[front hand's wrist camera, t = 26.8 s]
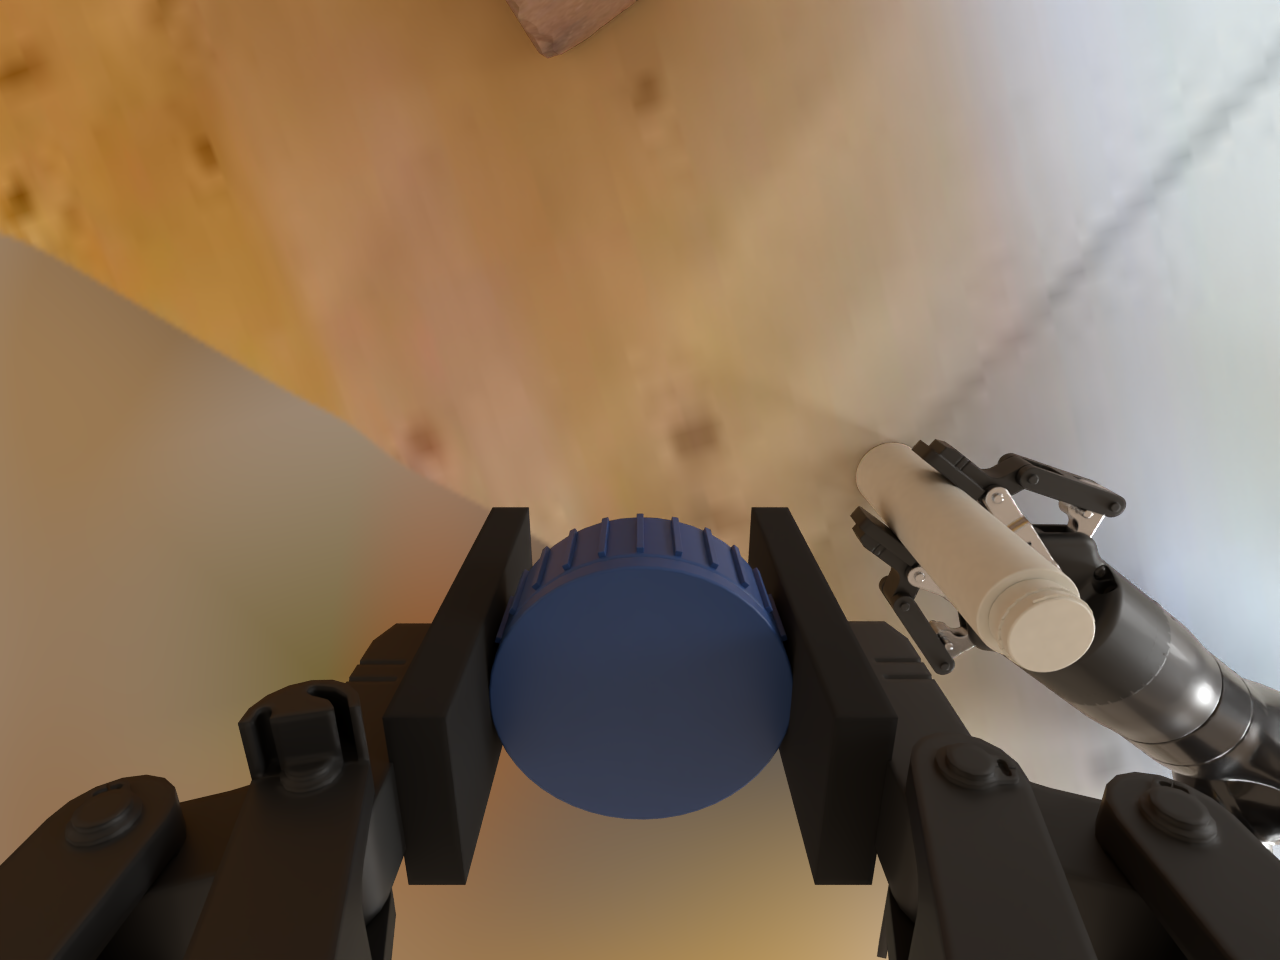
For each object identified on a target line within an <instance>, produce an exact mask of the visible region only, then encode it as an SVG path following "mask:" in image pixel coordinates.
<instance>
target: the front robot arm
mask: <svg viewBox="0 0 1280 960" xmlns="http://www.w3.org/2000/svg"><path fill="white" fill-rule="evenodd" d="M748 564H749V566H750V567H751V568H752V570H753V569H754V568H757V569H758V570H759V572H760V574H761V577H762V580H763V583H764V586H765V589H766V592H767V595H769V594H772V597H773V599H774V602H775V605H776V608H777V611H778V613H779V616H780V619H781V622H782V625H783V627H784V630H785V633H786V636H787V638H788V640H786V641H783V644H784V647H785V650H786V653H787V655H788V658H789V661H790V664H791V669H792V675H793V686H792V698H791V709H790V719H789V725H788V729H787V732H786V734H785V736H784V738H783V740H782V742H781V744H780V747H779V751H780V755H781V758H782V762H783V766H784V770H785V774H786V777H787V781H788V785H789V789H790V792H791V796H792V800H793V804H794V808H795V811H796V815H797V819H798V823H799V826H800V830H801V834H802V838H803V841H804V845H805V849H806V853H807V857H808V860H809V864H810V868H811V872H812V875H813V879H814V883H815V885H872V880H873V874H874V867H875V861H876V855H877V854H878V857H879V860H880V862H881V865H882V868H883V870H884V873H885V876H886V878H887V881H888V884H889V886H888V892H887V898H886V904H885V910H884V916H883V921H882V927H881V933H880V939H879V946H878V953H877V956H878V957H882V958H886V956H887V951H888V957H889V960H1280V860H1279V859H1278V858H1277V857H1276V856H1275V855H1274V854H1273V853H1272V852H1271V851H1270V850H1269V849H1268V848H1266V847H1265V846H1264V845H1263V844H1262V843H1261V842H1260V841H1259V840H1258V839H1257V838H1256V837H1255V836H1254V835H1253V834H1252V833H1251V832H1250V831H1249V830H1248V829H1247V828H1246V827H1245V826H1244V825H1243V824H1242V823H1241V822H1240V821H1239V820H1238V819H1237V818H1236V817H1235V816H1234V815H1233V814H1231V813H1230V812H1229V811H1228V810H1226V809H1225V808H1224V807H1223V806H1221V805H1220V804H1219V803H1218V802H1216V801H1215V800H1214V799H1212V798H1211V797H1209V796H1207V795H1205V794H1203V793H1201V792H1200V791H1198V790H1196V789H1194V788H1192V787H1190V786H1188V785H1186V784H1184V783H1181V782H1178V781H1175V780H1172V779H1169V778H1166V777H1163V776H1160V775H1155V774H1147V773H1139V772H1132V773H1126V774H1120V775H1116V776H1115V777H1114V778H1113V779H1112V780H1111V781H1110V782H1109V783H1107V784H1106V788H1105V791H1104V794H1103V798H1102V800H1100V799H1095V798H1091V797H1087V796H1082V795H1078V794H1074V793H1070V792H1065V791H1061V790H1057V789H1052V788H1049V787H1045V786H1042V785H1039V784H1035V783H1032V782H1030V781H1029V780H1028V778H1027V776H1026V775H1025V773H1024V772H1023V770H1022V769H1021V767H1020V766H1019V764H1018V763H1017V762H1016V761H1015V760H1013V759H1012V758H1011V757H1010V756H1009V755H1007V754H1006V753H1005V752H1004V751H1003V750H1001V749H1000V748H998V747H996V746H994V745H992V744H990V743H988V742H986V741H984V740H982V739H980V738H976V737H972V736H971V735H970V734H969V732H968V730H967V729H966V727H965V726H964V724H963V723H962V721H961V720H960V718H959V717H958V715H957V714H956V712H955V710H954V709H953V707H952V706H951V704H950V703H949V701H948V700H947V698H946V697H945V695H944V694H943V692H942V690H941V689H940V687H939V686H938V684H937V683H936V681H935V680H934V679H932V677H931V674H930V672H929V670H928V669H927V667H926V666H925V664H924V663H923V662H921V658H920V657H919V655H918V654H917V652H916V650H915V649H914V647H913V646H912V644H911V643H910V641H909V640H908V638H906V637H905V636H904V635H902V634H901V633H900V632H898V631H897V630H895V629H894V628H893V627H891V626H890V625H889V624H887V623H886V622H885V621H847V619H846V617H845V615H844V613H843V611H842V610H841V608H840V606H839V604H838V602H837V600H836V598H835V596H834V594H833V592H832V591H831V589H830V587H829V585H828V583H827V581H826V579H825V577H824V575H823V573H822V572H821V570H820V568H819V566H818V564H817V562H816V560H815V558H814V556H813V554H812V553H811V551H810V549H809V547H808V545H807V543H806V541H805V539H804V537H803V535H802V534H801V532H800V530H799V528H798V526H797V524H796V522H795V520H794V518H793V516H792V515H791V513H790V511H789V509H788V507H752V510H751V526H750V543H749V559H748ZM531 568H532V552H531V536H530V519H529V507H493V508H492V510H491V512H490V513H489V515H488V517H487V519H486V521H485V523H484V525H483V527H482V529H481V531H480V532H479V535H478V536H477V538H476V540H475V542H474V544H473V546H472V548H471V550H470V551H469V553H468V555H467V557H466V559H465V561H464V563H463V565H462V567H461V569H460V570H459V572H458V574H457V576H456V578H455V580H454V582H453V584H452V586H451V588H450V589H449V591H448V593H447V595H446V597H445V599H444V601H443V603H442V605H441V607H440V608H439V610H438V612H437V614H436V616H435V618H434V620H433V622H432V624H395V625H394V626H392V627H391V628H390V629H388V630H387V631H385V632H384V633H383V634H382V635H380V636H379V637H377V638H376V639H375V640H373V642H372V643H371V645H370V646H369V648H368V649H367V651H366V652H365V654H364V655H363V657H362V659H361V660H360V665H357V666H356V668H355V669H354V671H353V673H352V674H351V676H350V677H349V682H346V683H342V682H339V681H335V680H311V681H306V682H302V683H298V684H294V685H290V686H287V687H285V688H282V689H280V690H278V691H276V692H274V693H271V694H269V695H267V696H265V697H264V698H263V699H261V700H260V701H259V702H257V703H256V704H255V705H253V706H252V707H250V708H249V709H248V711H247V712H246V713H245V714H244V716H243V717H242V718H241V720H240V721H239V722H238V726H239V730H240V734H241V738H242V742H243V746H244V750H245V754H246V758H247V762H248V766H249V770H250V774H251V778H252V781H251V784H250V785H248V786H245V787H241V788H238V789H235V790H231V791H227V792H223V793H219V794H215V795H210V796H206V797H202V798H198V799H193V800H189V801H185V802H180V803H179V800H178V796H177V793H176V789H175V787H174V786H173V785H172V784H171V783H170V782H169V781H167V780H166V779H165V778H162V777H156V776H151V775H141V776H133V777H126V778H121V779H118V780H115V781H112V782H109V783H106V784H103V785H100V786H97V787H95V788H93V789H91V790H89V791H88V792H86V793H84V794H82V795H80V796H78V797H76V798H75V799H73V800H71V801H69V802H68V803H67V804H65V805H64V806H63V807H62V808H60V809H59V810H58V811H57V812H55V813H54V814H53V815H52V816H50V817H49V818H48V819H47V820H46V821H45V822H44V823H43V824H42V825H41V826H40V827H39V828H38V829H37V830H36V831H35V832H34V833H33V834H32V835H31V836H30V837H29V838H28V839H27V840H26V841H25V842H24V843H23V844H22V845H20V846H19V847H18V848H17V849H16V850H15V851H14V853H12V854H11V855H10V856H9V857H8V858H7V859H6V860H5V861H4V862H3V863H2V864H1V865H0V960H391V958H392V948H393V938H394V928H395V918H396V912H395V905H394V898H393V892H392V886H393V883H394V880H395V878H396V875H397V872H398V870H399V867H400V864H401V862H402V859H403V856H404V858H405V865H406V871H407V877H408V884H409V885H465V884H466V881H467V877H468V873H469V869H470V866H471V862H472V858H473V854H474V851H475V847H476V843H477V839H478V835H479V832H480V828H481V824H482V820H483V816H484V813H485V809H486V805H487V801H488V798H489V794H490V790H491V786H492V782H493V779H494V775H495V771H496V768H497V764H498V760H499V756H500V753H501V749H502V745H503V744H502V742H501V741H500V739H499V737H498V734H497V731H496V728H495V726H494V723H493V720H492V715H491V709H490V699H489V682H490V674H491V669H492V665H493V662H494V658H495V655H496V652H497V649H498V646H499V643H496V642H495V639H496V636H497V633H498V630H499V627H500V624H501V622H502V619H503V616H504V613H505V610H506V607H507V604H508V602H509V599H510V596H513V597H514V595H515V592H516V590H517V587H518V584H519V581H520V578H521V575H522V573H523V571H524V570H525V569H526V570H528V571H530V569H531Z"/></svg>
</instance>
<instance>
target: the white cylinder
mask: <svg viewBox="0 0 1280 960" xmlns="http://www.w3.org/2000/svg"><path fill="white" fill-rule="evenodd" d="M911 449H912V448H910V447H909V446H907V445H904V444H901V443H885V444H882V445H879V446H877V447H875V448H873V449H871V450H870V451H869V452H868V453H867V454H866V455H865V456H864V457H863V458H862V459H861V461H860V463H859V465H858V468H857V471H856V483H857V487H858V489H859V491H860V492H861V494H862V495H863V496H864V497H865V499H866V500H867V501H868V502H869V504H870V505H871V506H872V507H873V508H874V510H875V511H876V512H877V513H878V514H879V516H880V517H881V518H882V519H883V521H884V522H885V523H886V524H887V525H888V527H889V528H890V529H891V530H892V531H893V533H894V534H895V535H896V536H897V538H898V539H899V540H900V541H901V542H902V544H903V545H904V546H905V547H906V548H907V550H908V551H909V552H910V553H911V555H912V556H913V557H914V558H915V559H916V561H917V562H918V563H919V564H920V565H921V567H922V568H923V569H924V570H925V572H926V573H927V574H928V575H929V576H930V578H931V579H932V580H933V581H934V583H935V584H936V585H937V586H938V587H939V589H940V590H941V591H942V592H943V593H944V595H945V596H946V597H947V598H948V600H949V601H950V602H951V603H952V604H953V606H954V607H955V608H956V609H957V610H958V612H959V613H960V614H961V615H962V617H963V618H964V619H965V620H966V621H967V623H968V624H969V625H970V626H971V627H972V629H973V630H974V631H975V632H976V634H977V635H978V636H979V637H980V638H981V640H982V641H983V642H984V643H985V644H986V645H987V646H988V647H989V648H991V649H992V650H994V651H996V652H998V653H1000V654H1003V655H1005V656H1006V657H1007V658H1008V659H1009V660H1011V661H1012V662H1014V663H1015V664H1017V665H1019V666H1021V667H1023V668H1025V669H1027V670H1030V671H1035V672H1051V671H1056V670H1059V669H1062V668H1065V667H1067V666H1069V665H1071V664H1072V663H1074V662H1075V661H1077V660H1078V659H1079V658H1081V657H1082V656H1083V655H1084V653H1085V652H1086V651H1087V650H1088V648H1089V647H1090V645H1091V643H1092V641H1093V638H1094V634H1095V623H1094V622H1095V619H1094V616H1093V612H1092V610H1091V609H1090V607H1089V606H1088V604H1087V603H1086V602H1084V601H1083V600H1082V599H1080V595H1079V592H1078V589H1077V587H1076V585H1075V584H1074V583H1073V581H1072V580H1071V579H1070V578H1069V577H1068V576H1066V575H1065V574H1064V573H1063V572H1061V571H1060V570H1059V569H1058V568H1057V567H1055V566H1054V565H1053V564H1052V563H1051V562H1049V561H1048V560H1047V559H1046V558H1044V557H1043V556H1042V555H1041V554H1040V553H1038V552H1037V551H1036V550H1035V549H1033V548H1032V547H1031V546H1030V545H1029V544H1027V543H1026V542H1025V541H1024V540H1023V539H1021V538H1020V537H1019V536H1018V535H1016V534H1015V533H1014V532H1013V531H1012V530H1010V529H1009V528H1008V527H1007V526H1005V525H1004V524H1003V523H1002V522H1001V521H999V520H998V519H997V518H996V517H995V516H993V515H992V514H991V513H990V512H988V511H987V510H986V509H985V508H984V507H982V506H981V505H980V504H979V503H977V502H976V501H975V500H974V499H973V498H971V497H970V496H969V495H968V494H966V493H965V492H964V491H963V490H961V489H960V488H959V487H957V486H956V485H955V484H953V483H952V482H951V481H950V480H948V479H947V478H946V477H945V476H943V475H942V474H941V473H939V472H938V471H937V470H936V469H934V468H933V467H932V466H931V465H929V464H928V463H927V462H926V461H924V460H923V459H922V458H921V457H919V456H918V455H917V454H916V453H915V452H913V451H912V450H911Z"/></svg>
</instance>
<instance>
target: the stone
mask: <svg viewBox="0 0 1280 960" xmlns="http://www.w3.org/2000/svg"><path fill="white" fill-rule="evenodd" d="M506 1H507V3H508V5H509V6H510V8H511V9H512V11H513V13H514V14H515V16H516V17H517V19H518V21H519V22H520V24H521V25H522V27H523V29H524V30H525V32H526V33H527V35H528V36H529V38H530V40H531V41H532V43H533V44H534V46H535V47H536V49H537V50H538V52H539V53H540V54H542V55H543V56H545V57H547V58H550V57H553V56H556V55H560V54H563V53H564V52H566V51H568V50H569V49H571V48H573V47H574V46H576V45H578V44H579V43H581V42H582V41H584V40H585V39H587V38H589V37H590V36H591V35H593V34H594V33H595V32H596V31H597V30H598V29H599V28H601V27H602V26H604V25H605V24H606V23H608V22H609V21H611V20H612V19H613V18H614V17H616V16H617V15H618V14H620V13H621V12H622V11H624V10H625V9H627V8H628V7H629V6H631V5H632V4H633V3H635V2H636V1H637V0H506Z"/></svg>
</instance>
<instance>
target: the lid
mask: <svg viewBox="0 0 1280 960" xmlns="http://www.w3.org/2000/svg"><path fill="white" fill-rule="evenodd" d="M786 640H788V638H787V636H786V633H785V630H784V627H783V625H782V622H781V619H780V616H779V613H778V611H777V608H776V605H775V602H774V599H773V597H772V594H769V595H767V592H766V589H765V586H764V583H763V580H762V577H761V574H760V572H759V570H758V569H757V568H754V569H753V570H752V568H751V567H750V566H749V564H748V563H747V562H746V561H745V560H744V559H743V558H742V557H741V555H740V552H739V549H738V547H736V546H735V545H733V546H732V547H729V546H728V545H727V544H726V543H724V542H723V541H721V540H719V539H718V538H716V537H714V536H713V535H712V533H711V530H710V529H708V528H706V527H705V529H704V530H700V529H698V528H696V527H693V526H690V525H687V524H683V523H680V522H679V520H678V518H676V517H672V519H671V520H666V519H659V518H643V514H637V517H636V518H623V519H617V520H612V521H609V518H608V517H607V518H603V519H602V523H599V524H596V525H593V526H590V527H587V528H584V529H582V530H580V531H578V532H577V530H576V529H573V530H571V531H570V533H569V536H568V537H566V538H565V539H563V540H562V541H560V542H559V543H557V544H556V545H554V546H553V547H552V548H551V549H550V548H549V547H547V546H546V547H545V548H544V549H543V550H542V554H541V557H540V559H539V560H538V561H537V562H536V563H535V564H534V566H533V567H532V568H531V569H530V571H528V570H526V569H525V570H524V571H523V573H522V575H521V578H520V581H519V584H518V587H517V590H516V592H515V595H514V597H513V596H510V599H509V602H508V604H507V607H506V610H505V613H504V616H503V619H502V622H501V624H500V627H499V630H498V633H497V636H496V639H495V642H496V643H499V646H498V649H497V652H496V655H495V658H494V662H493V665H492V669H491V674H490V682H489V699H490V709H491V715H492V720H493V723H494V726H495V728H496V731H497V734H498V737H499V739H500V741H501V742H502V744H503V746H504V748H505V750H506V752H507V753H508V754H509V756H510V757H511V759H512V760H513V761H514V763H515V764H516V765H517V766H518V767H519V768H520V770H521V771H522V772H523V773H524V774H525V775H526V776H527V777H528V778H529V779H530V780H532V781H533V782H534V783H535V784H537V785H538V786H539V787H540V788H542V789H543V790H545V791H546V792H548V793H549V794H551V795H553V796H554V797H556V798H558V799H560V800H562V801H564V802H566V803H568V804H570V805H572V806H575V807H577V808H580V809H583V810H586V811H588V812H592V813H596V814H600V815H604V816H609V817H616V818H624V819H658V818H667V817H673V816H679V815H683V814H687V813H690V812H694V811H698V810H700V809H703V808H705V807H708V806H710V805H713V804H715V803H717V802H719V801H721V800H723V799H725V798H727V797H729V796H731V795H732V794H734V793H735V792H737V791H738V790H740V789H741V788H742V787H744V786H745V785H747V784H748V783H749V782H750V781H751V780H752V779H753V778H755V777H756V776H757V775H758V774H759V773H760V772H761V771H762V770H763V768H764V767H765V766H766V765H767V764H768V763H769V762H770V760H771V759H772V757H773V756H774V754H775V753H776V751H777V750H778V748H779V747H780V744H781V742H782V740H783V738H784V736H785V734H786V732H787V729H788V725H789V719H790V709H791V698H792V686H793V675H792V669H791V664H790V661H789V658H788V655H787V653H786V650H785V647H784V644H783V641H786Z"/></svg>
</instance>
